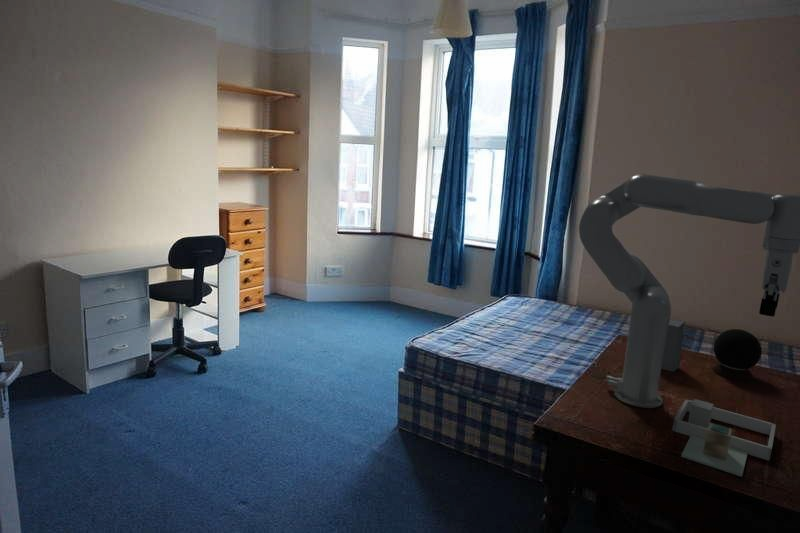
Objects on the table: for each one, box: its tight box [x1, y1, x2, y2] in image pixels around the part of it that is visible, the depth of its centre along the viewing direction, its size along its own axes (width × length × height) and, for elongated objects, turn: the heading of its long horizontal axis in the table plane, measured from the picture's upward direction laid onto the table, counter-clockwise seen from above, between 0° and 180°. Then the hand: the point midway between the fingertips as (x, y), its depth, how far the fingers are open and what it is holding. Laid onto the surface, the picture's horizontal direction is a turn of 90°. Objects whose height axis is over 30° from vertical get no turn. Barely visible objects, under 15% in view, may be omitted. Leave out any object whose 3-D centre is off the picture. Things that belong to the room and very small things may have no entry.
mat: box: [680, 435, 749, 477], centre depth 127 cm, size 12×12×1 cm
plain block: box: [687, 398, 714, 428], centre depth 141 cm, size 4×4×6 cm
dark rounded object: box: [712, 328, 762, 382], centre depth 176 cm, size 13×13×15 cm
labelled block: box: [703, 422, 733, 461], centre depth 126 cm, size 4×4×6 cm
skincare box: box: [661, 319, 685, 373], centre depth 179 cm, size 8×7×16 cm
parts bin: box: [671, 398, 777, 462], centre depth 138 cm, size 21×16×3 cm
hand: (767, 311), depth 139 cm, fingers open, 9 cm apart
